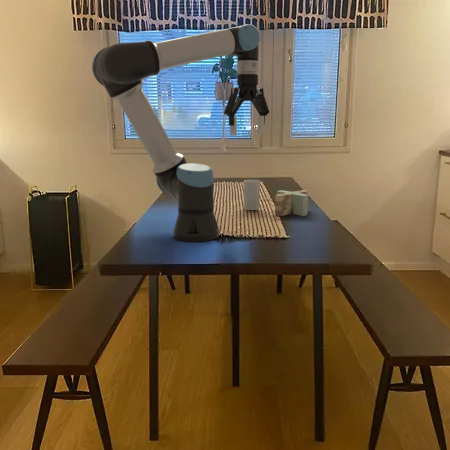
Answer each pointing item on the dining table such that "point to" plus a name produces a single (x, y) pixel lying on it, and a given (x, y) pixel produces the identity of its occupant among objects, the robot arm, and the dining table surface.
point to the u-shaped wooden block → (285, 203)
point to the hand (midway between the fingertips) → (247, 134)
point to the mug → (251, 194)
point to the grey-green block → (298, 202)
